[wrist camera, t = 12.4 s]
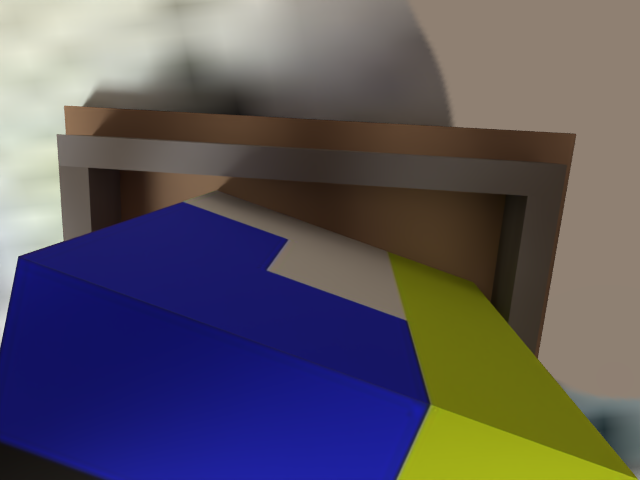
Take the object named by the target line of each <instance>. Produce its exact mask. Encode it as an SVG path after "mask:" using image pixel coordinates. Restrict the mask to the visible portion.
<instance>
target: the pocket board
mask: <svg viewBox="0 0 640 480" xmlns="http://www.w3.org/2000/svg"><path fill="white" fill-rule="evenodd" d="M64 110H65V127H66V135H59V134H57V145H58V161H59V176H60V191H61V207H62V222H63V238H64V241H66V240H69V239H72V238H75V237H78V236H81V235H84V234H87V233H90V232H93V231H96V230H99V229H102V228H105V227H108V226H111V225H114V224H117V223H120V222H123V221H126V220H129V219H132V218H135V217H138V216H141V215H144V214H147V213H150V212H153V211H156V210H159V209H162V208H165V207H168V206H171V205H174V204H177V203H180V202H183V201H186V200H189V199H192V198H195V197H198V196H201V195H204V194H207V193H210V192H213V191H216V190H217V191H220V192H223V193H225V194H228V195H231V196H234V197H237V198H239V199H242V200H245V201H248V202H251V203H253V204H256V205H259V206H262V207H265V208H267V209H270V210H273V211H276V212H279V213H281V214H284V215H287V216H290V217H292V218H295V219H298V220H301V221H304V222H306V223H309V224H312V225H315V226H318V227H320V228H323V229H326V230H329V231H332V232H334V233H337V234H340V235H343V236H346V237H348V238H351V239H354V240H357V241H360V242H362V243H365V244H368V245H371V246H374V247H376V248H379V249H382V250H385V251H388V252H390V253H393V254H396V255H399V256H402V257H404V258H407V259H410V260H413V261H416V262H418V263H421V264H424V265H427V266H430V267H432V268H435V269H438V270H441V271H444V272H446V273H449V274H452V275H455V276H458V277H460V278H463V279H466V280H469V281H472V282H474V283H475V285H476V286H477V287H478V288H479V289H480V291H481V292H482V293H483V294H484V295H485V297H486V298H487V299H488V300H489V301H490V303H491V304H492V305H493V306H494V307H495V309H496V310H497V311H498V312H499V313H500V315H501V316H502V317H503V318H504V319H505V321H506V322H507V323H508V324H509V325H510V327H511V328H512V329H513V330H514V331H515V333H516V334H517V335H518V336H519V337H520V339H521V340H522V341H523V342H524V343H525V344H526V346H527V347H528V348H529V349H530V350H531V352H532V353H533V354H534V355H535V356H536V358H537V359H538V353H539V347H540V341H541V336H542V330H543V324H544V318H545V312H546V307H547V301H548V295H549V289H550V283H551V278H552V272H553V266H554V260H555V254H556V248H557V243H558V237H559V231H560V225H561V220H562V214H563V208H564V202H565V196H566V191H567V185H568V179H569V173H570V167H571V162H572V156H573V150H574V144H575V138H576V134H570V133H550V132H534V131H516V130H515V131H514V130H497V129H479V128H460V127H443V126H425V125H406V124H388V123H370V122H352V121H334V120H315V119H297V118H279V117H261V116H243V115H224V114H206V113H188V112H170V111H152V110H133V109H115V108H97V107H79V106H64Z"/></svg>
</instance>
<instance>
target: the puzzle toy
mask: <svg viewBox="0 0 640 480" xmlns="http://www.w3.org/2000/svg"><path fill="white" fill-rule="evenodd" d="M0 480H638V479H637V477H636V476H635V475H634V474H633V473H632V471H631V470H630V469H629V468H628V467H627V465H626V464H625V463H624V462H623V461H622V459H621V458H620V457H619V456H618V455H617V453H616V452H615V451H614V450H613V449H612V447H611V446H610V445H609V444H608V443H607V441H606V440H605V439H604V438H603V437H602V435H601V434H600V433H599V432H598V431H597V429H596V428H595V427H594V426H593V425H592V423H591V422H590V421H589V420H588V419H587V417H586V416H585V415H584V414H583V413H582V412H581V410H580V409H579V408H578V407H577V406H576V404H575V403H574V402H573V401H572V400H571V398H570V397H569V396H568V395H567V394H566V392H565V391H564V390H563V389H562V388H561V386H560V385H559V384H558V383H557V382H556V380H555V379H554V378H553V377H552V376H551V374H550V373H549V372H548V371H547V370H546V369H545V367H544V366H543V365H542V364H541V362H540V361H539V360H538V359H537V358H536V356H535V355H534V354H533V353H532V352H531V350H530V349H529V348H528V347H527V346H526V344H525V343H524V342H523V341H522V340H521V339H520V337H519V336H518V335H517V334H516V333H515V331H514V330H513V329H512V328H511V327H510V325H509V324H508V323H507V322H506V321H505V319H504V318H503V317H502V316H501V315H500V313H499V312H498V311H497V310H496V309H495V307H494V306H493V305H492V304H491V303H490V301H489V300H488V299H487V298H486V297H485V295H484V294H483V293H482V292H481V291H480V289H479V288H478V287H477V286H476V285H475V283H474V282H472V281H469V280H466V279H463V278H460V277H458V276H455V275H452V274H449V273H446V272H444V271H441V270H438V269H435V268H432V267H430V266H427V265H424V264H421V263H418V262H416V261H413V260H410V259H407V258H404V257H402V256H399V255H396V254H393V253H390V252H388V251H385V250H382V249H379V248H376V247H374V246H371V245H368V244H365V243H362V242H360V241H357V240H354V239H351V238H348V237H346V236H343V235H340V234H337V233H334V232H332V231H329V230H326V229H323V228H320V227H318V226H315V225H312V224H309V223H306V222H304V221H301V220H298V219H295V218H292V217H290V216H287V215H284V214H281V213H279V212H276V211H273V210H270V209H267V208H265V207H262V206H259V205H256V204H253V203H251V202H248V201H245V200H242V199H239V198H237V197H234V196H231V195H228V194H225V193H223V192H220V191H217V190H216V191H213V192H210V193H207V194H204V195H201V196H198V197H195V198H192V199H189V200H186V201H183V202H180V203H177V204H174V205H171V206H168V207H165V208H162V209H159V210H156V211H153V212H150V213H147V214H144V215H141V216H138V217H135V218H132V219H129V220H126V221H123V222H120V223H117V224H114V225H111V226H108V227H105V228H102V229H99V230H96V231H93V232H90V233H87V234H84V235H81V236H78V237H75V238H72V239H69V240H66V241H63V242H60V243H57V244H54V245H51V246H48V247H45V248H42V249H39V250H36V251H33V252H30V253H27V254H24V255H21V256H18V261H17V266H16V271H15V276H14V282H13V287H12V292H11V297H10V302H9V307H8V312H7V317H6V322H5V327H4V332H3V337H2V343H1V348H0Z"/></svg>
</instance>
